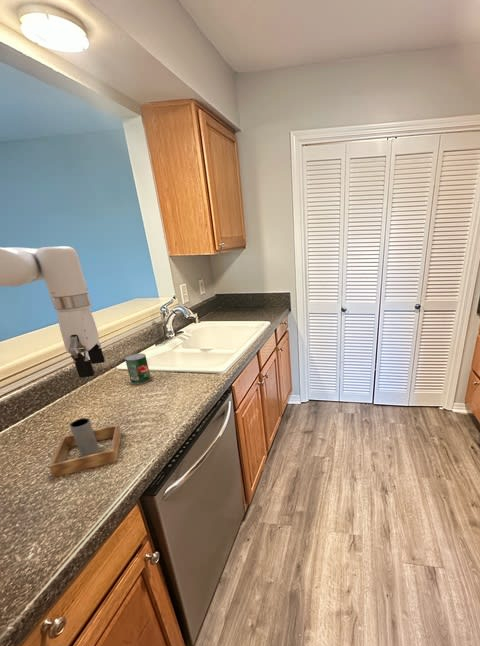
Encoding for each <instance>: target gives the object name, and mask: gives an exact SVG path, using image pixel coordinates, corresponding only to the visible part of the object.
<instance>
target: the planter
mask: <svg viewBox="0 0 480 646" xmlns="http://www.w3.org/2000/svg"><path fill="white" fill-rule="evenodd" d="M69 427H70V430H71V433H72V435H73V436H74V438H75V441H76V444H77V446H76V447H77V449H78V452H79V454H80V455H79V456H80V457H84V456H88V455H92V454H96V453H100V452H101V451H100V447H99V443H98V441H96V438H95V435H94V432H93V430H94V429H93V425H92V423H91V421H90V419H89V418H86V417H83V418H79V419H76V420H74V421H72V422H71V423H70V424H69Z"/></svg>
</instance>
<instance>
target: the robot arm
mask: <svg viewBox="0 0 480 646" xmlns="http://www.w3.org/2000/svg"><path fill="white" fill-rule="evenodd" d="M42 280H44V283H45V285H46V288H47V291H48V295H49V297H50V300H51V303H52V306H53V310H54V312H56V315H57V321H58V326H59V331H60V334H61V338H62V341H63V344H64V348H65V351H66V353H68V354H70V358H71V359H72V361H73V363H74V366H75V368H76V372H77V375H78V377H79V378H81V379H82V378H90V377H94V376H95V371H94V367H93V365H94V364H102V363H105V361H106V360H105V359H106V358H105V356H104V352H103V350H102V345H101V343H100V336H99V331H98V328H97V325H96V322H95V319H94V316H93V314H92V311H91V308H92V307H93V303H92V300H91V297H90V292H89V290H88V286H87V282H86V280H85V275H84V272H83V269H82V265H81V262H80V259H79V255H78V252H77V250H76V249H75V248H73V247H72V246H68V245H67V246H66V245H65V246H63V245H61V246H59V245H58V246H43V247H40V248H33V247H19V246H17V247H16V246H15V247H14V246H11V247H1V246H0V287H9V288H12V287H20V286H23V285H26V284H30V283H33V282H37V281H42ZM82 353H83V354H82Z"/></svg>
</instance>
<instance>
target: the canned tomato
mask: <svg viewBox="0 0 480 646" xmlns="http://www.w3.org/2000/svg"><path fill="white" fill-rule="evenodd" d="M124 361H125V364H126V368H127V372H128V375H129V380H130V383H131V384H132V385H141V384H145V383H148V382H150V381H151V380H152V376H151V372H150V369H149V363H148V360H147V355H146V354H145V353H133V354H129V355H127V356H125V357H124Z"/></svg>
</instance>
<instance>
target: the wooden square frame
mask: <svg viewBox="0 0 480 646" xmlns="http://www.w3.org/2000/svg"><path fill="white" fill-rule="evenodd" d="M119 425H120V424H114V425H110V426H105V427H104V426H103V427H101V428H96V429H93V432H94V435H95V438H96V441H97V442H98V441H103V440H106V439H111V438H112V440H111V441H112V442H111V446H110V449H108V450H104V451H99V453H96V454H92V455H88V456H84V457H81V456H79V457H76V458H72V459H68V460H65V458H66V456H67V453H68V450H69V448H73V447H77V444H76V441H75V438H74V436H73V434H69V435H65V436H64V435H63V436H62V437H61V439H60V441H59V443H58V446H57V448H56V450H55V452H54V455H53V456H52V459H51V461H50V464H49V466H48V467H49V470H50V472H51V475H52V477H53V478H57V477H61V476H65V475H68V474H72V473H76V472H80V471H84V470H87V469H88V470H89V469H93V468H95V467H99V466H103V465H107V464H111V463H116V462H118V457H119V450H120V444H121V438H122V432H121V429H120V426H119Z"/></svg>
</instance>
